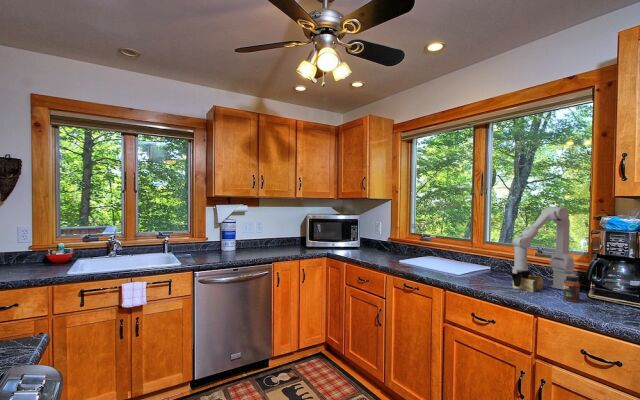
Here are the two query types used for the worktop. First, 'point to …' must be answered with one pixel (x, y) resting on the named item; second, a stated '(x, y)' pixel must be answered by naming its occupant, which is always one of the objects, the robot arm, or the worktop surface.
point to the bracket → (539, 281)
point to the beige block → (527, 285)
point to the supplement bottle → (571, 289)
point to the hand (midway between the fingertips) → (520, 285)
